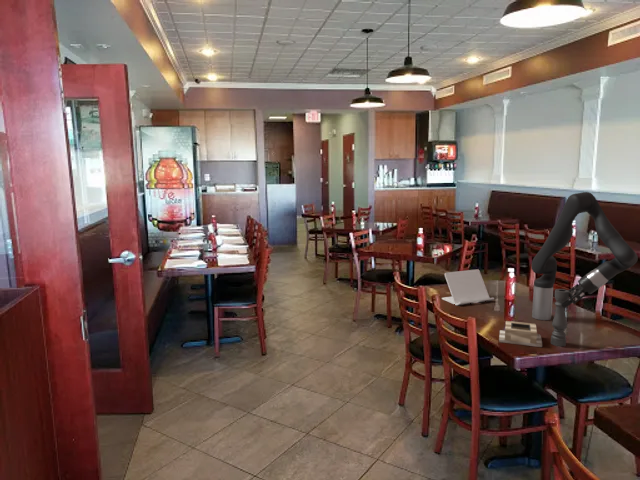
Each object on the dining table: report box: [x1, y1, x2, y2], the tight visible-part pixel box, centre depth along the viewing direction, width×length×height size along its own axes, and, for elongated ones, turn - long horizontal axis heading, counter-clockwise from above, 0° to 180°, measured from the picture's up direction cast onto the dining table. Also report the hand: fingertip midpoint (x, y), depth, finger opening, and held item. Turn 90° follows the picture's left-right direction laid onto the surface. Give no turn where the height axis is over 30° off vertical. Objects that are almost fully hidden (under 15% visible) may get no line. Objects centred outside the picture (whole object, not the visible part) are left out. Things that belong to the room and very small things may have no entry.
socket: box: [498, 320, 543, 348], centre depth 222 cm, size 14×18×6 cm
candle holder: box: [550, 288, 570, 348], centre depth 214 cm, size 6×6×25 cm
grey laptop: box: [441, 268, 495, 306], centre depth 285 cm, size 18×25×17 cm
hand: (561, 303), depth 213 cm, fingers open, 8 cm apart
